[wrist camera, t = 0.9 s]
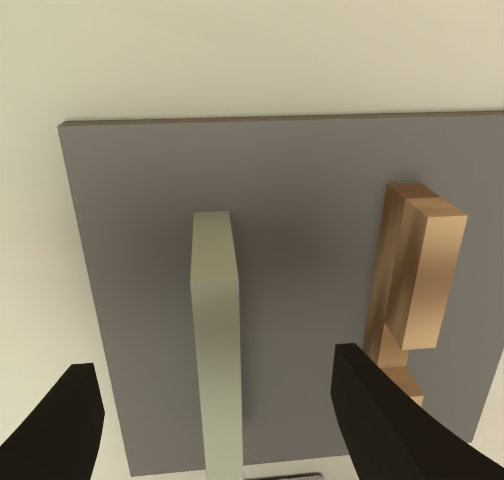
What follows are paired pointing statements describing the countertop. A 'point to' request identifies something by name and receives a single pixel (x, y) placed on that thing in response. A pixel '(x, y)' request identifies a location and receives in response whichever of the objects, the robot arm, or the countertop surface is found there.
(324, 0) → the countertop surface
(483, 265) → the board
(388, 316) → the oak slotted plate
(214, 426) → the sage notched plate
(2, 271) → the countertop surface
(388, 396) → the robot arm
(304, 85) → the countertop surface
